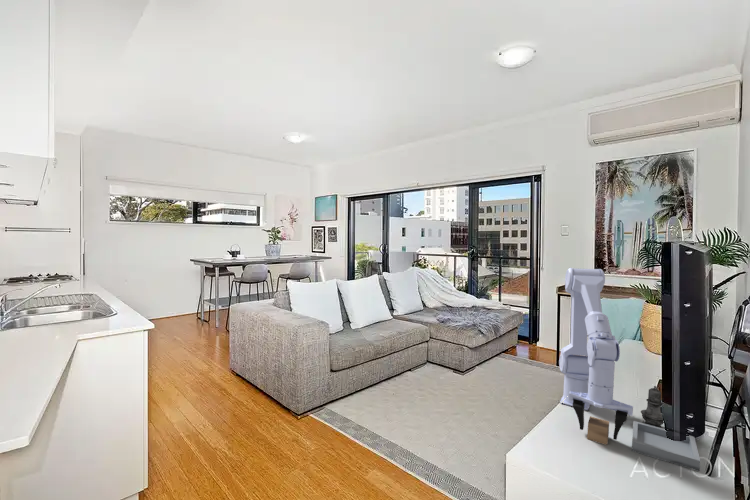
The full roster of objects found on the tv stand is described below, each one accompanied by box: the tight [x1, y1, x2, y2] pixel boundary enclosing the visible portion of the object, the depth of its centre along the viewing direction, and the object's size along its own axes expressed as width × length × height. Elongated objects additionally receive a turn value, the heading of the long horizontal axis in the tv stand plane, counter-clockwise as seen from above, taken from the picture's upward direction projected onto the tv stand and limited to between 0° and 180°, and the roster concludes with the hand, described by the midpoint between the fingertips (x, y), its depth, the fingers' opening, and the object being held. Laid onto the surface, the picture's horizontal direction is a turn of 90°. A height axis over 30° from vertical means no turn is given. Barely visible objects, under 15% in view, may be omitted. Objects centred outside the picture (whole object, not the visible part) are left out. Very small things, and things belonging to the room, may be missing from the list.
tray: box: [631, 420, 701, 472], centre depth 95 cm, size 13×13×2 cm
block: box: [586, 416, 610, 446], centre depth 99 cm, size 4×4×4 cm
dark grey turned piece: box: [640, 385, 665, 429], centre depth 106 cm, size 6×6×12 cm
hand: (598, 432), depth 99 cm, fingers open, 7 cm apart
